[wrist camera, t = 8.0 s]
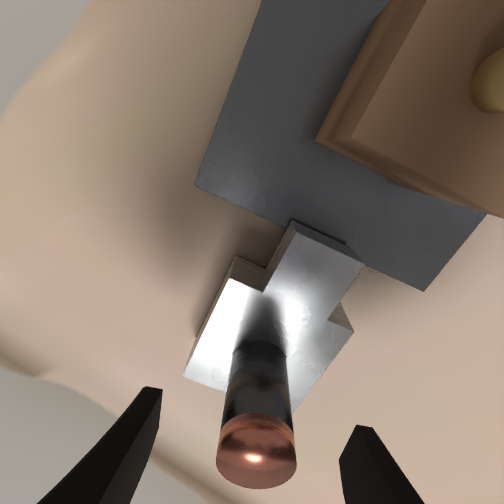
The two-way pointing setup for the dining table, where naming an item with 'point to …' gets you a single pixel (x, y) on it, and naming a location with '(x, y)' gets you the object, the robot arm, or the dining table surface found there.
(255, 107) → the metal bracket
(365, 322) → the dining table surface
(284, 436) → the ram
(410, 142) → the wooden block
